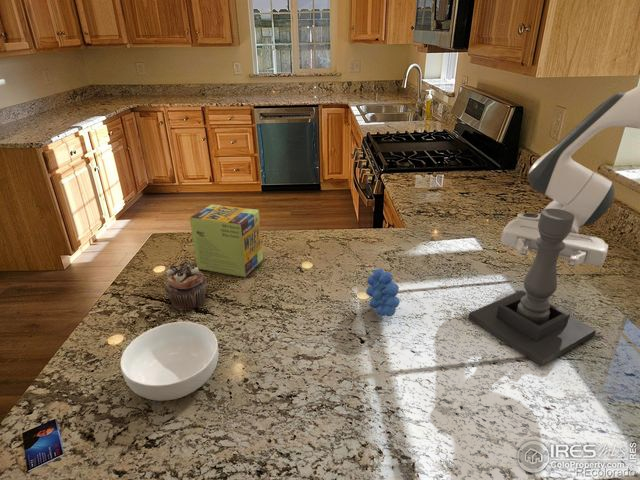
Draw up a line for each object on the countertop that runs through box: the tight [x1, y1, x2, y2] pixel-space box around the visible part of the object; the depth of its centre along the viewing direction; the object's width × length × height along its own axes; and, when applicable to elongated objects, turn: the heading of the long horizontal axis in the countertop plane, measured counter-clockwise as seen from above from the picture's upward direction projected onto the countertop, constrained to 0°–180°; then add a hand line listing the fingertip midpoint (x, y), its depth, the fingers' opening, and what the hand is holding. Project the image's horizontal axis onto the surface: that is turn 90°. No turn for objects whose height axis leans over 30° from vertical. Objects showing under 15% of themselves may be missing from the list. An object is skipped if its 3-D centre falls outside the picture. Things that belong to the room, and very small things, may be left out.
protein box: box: [189, 204, 264, 278], centre depth 116 cm, size 10×15×16 cm
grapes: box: [365, 268, 401, 318], centre depth 94 cm, size 12×7×12 cm, turn 24°
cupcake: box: [163, 261, 207, 311], centre depth 101 cm, size 10×10×10 cm
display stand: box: [468, 289, 597, 367], centre depth 91 cm, size 18×18×4 cm
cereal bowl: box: [119, 321, 220, 402], centre depth 78 cm, size 17×17×7 cm
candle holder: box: [516, 208, 574, 325], centre depth 86 cm, size 6×6×25 cm
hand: (547, 257), depth 87 cm, fingers open, 8 cm apart
